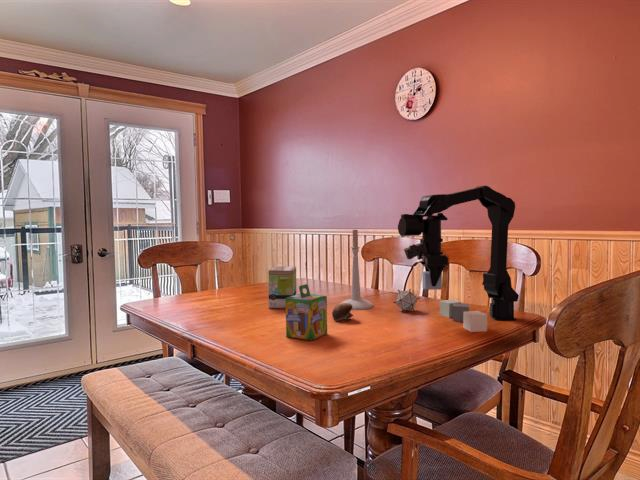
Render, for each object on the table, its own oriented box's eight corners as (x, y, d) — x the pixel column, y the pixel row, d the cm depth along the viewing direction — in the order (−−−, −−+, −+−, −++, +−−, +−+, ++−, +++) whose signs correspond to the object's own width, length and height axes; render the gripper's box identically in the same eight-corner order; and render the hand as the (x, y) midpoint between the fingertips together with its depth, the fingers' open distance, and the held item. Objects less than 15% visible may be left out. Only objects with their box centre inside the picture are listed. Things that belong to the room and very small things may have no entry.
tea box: (294, 308, 161) (293, 269, 161) (268, 308, 161) (267, 270, 161) (297, 300, 176) (296, 265, 176) (273, 300, 176) (272, 265, 176)
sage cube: (451, 313, 148) (451, 299, 148) (461, 316, 143) (461, 302, 143) (439, 315, 146) (439, 300, 146) (449, 318, 142) (449, 303, 141)
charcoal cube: (469, 318, 140) (469, 303, 140) (469, 322, 136) (469, 306, 135) (453, 317, 142) (453, 303, 142) (452, 321, 137) (452, 306, 137)
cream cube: (479, 327, 130) (479, 311, 129) (487, 331, 125) (487, 314, 124) (463, 327, 129) (463, 311, 129) (470, 332, 124) (470, 315, 124)
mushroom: (361, 309, 143) (350, 294, 142) (354, 322, 136) (342, 308, 135) (344, 317, 147) (333, 303, 146) (336, 331, 141) (324, 317, 140)
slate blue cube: (438, 286, 135) (438, 271, 135) (441, 289, 130) (441, 273, 130) (422, 287, 135) (422, 271, 135) (425, 289, 130) (425, 273, 130)
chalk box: (311, 341, 117) (310, 288, 116) (285, 337, 122) (283, 286, 121) (328, 333, 125) (328, 284, 124) (303, 329, 129) (302, 282, 129)
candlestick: (378, 304, 165) (377, 228, 163) (363, 311, 154) (362, 229, 153) (349, 301, 172) (348, 228, 170) (333, 307, 161) (332, 229, 160)
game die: (411, 322, 152) (419, 303, 145) (388, 313, 153) (396, 294, 147) (415, 306, 158) (423, 287, 152) (393, 297, 160) (401, 279, 154)
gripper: (401, 234, 142) (402, 280, 142) (410, 237, 123) (410, 290, 124) (435, 233, 141) (435, 280, 142) (449, 236, 122) (449, 289, 123)
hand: (432, 284), depth 133 cm, fingers closed on slate blue cube, 5 cm apart
